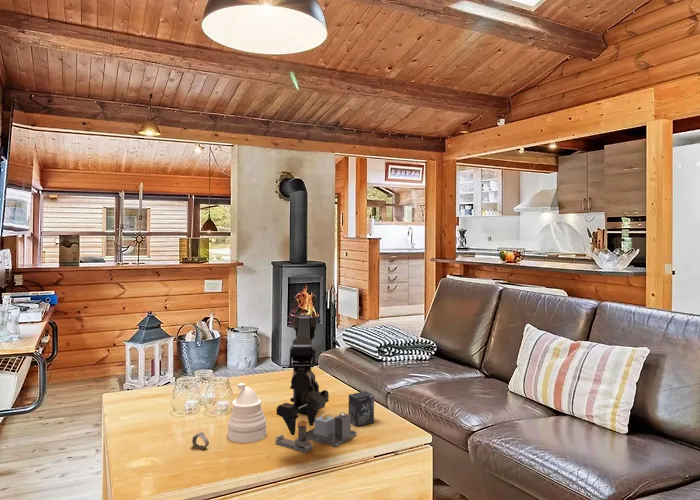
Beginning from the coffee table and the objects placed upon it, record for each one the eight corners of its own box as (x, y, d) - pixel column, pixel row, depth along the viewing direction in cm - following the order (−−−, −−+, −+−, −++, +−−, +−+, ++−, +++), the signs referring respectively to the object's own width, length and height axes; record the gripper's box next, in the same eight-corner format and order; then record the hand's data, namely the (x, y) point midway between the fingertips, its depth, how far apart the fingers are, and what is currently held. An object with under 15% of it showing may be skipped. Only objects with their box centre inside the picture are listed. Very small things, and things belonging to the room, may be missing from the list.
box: (356, 427, 184) (356, 398, 184) (348, 422, 189) (348, 394, 188) (374, 423, 188) (374, 394, 188) (365, 418, 193) (365, 390, 193)
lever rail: (275, 443, 169) (275, 437, 169) (281, 440, 172) (281, 434, 172) (306, 453, 162) (306, 446, 162) (312, 449, 164) (312, 443, 164)
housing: (314, 432, 176) (314, 414, 176) (323, 427, 180) (323, 410, 180) (326, 435, 173) (326, 417, 173) (334, 430, 177) (334, 413, 177)
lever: (294, 444, 165) (294, 422, 164) (300, 441, 167) (300, 419, 167) (304, 447, 162) (304, 425, 162) (310, 444, 165) (310, 422, 165)
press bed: (302, 437, 174) (302, 411, 174) (323, 426, 184) (323, 401, 184) (336, 447, 167) (336, 419, 166) (356, 435, 177) (356, 409, 176)
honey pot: (233, 445, 168) (233, 391, 167) (223, 432, 179) (223, 381, 179) (271, 438, 174) (271, 385, 173) (259, 426, 185) (259, 376, 184)
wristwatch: (197, 444, 169) (197, 429, 169) (211, 448, 166) (211, 432, 166) (189, 448, 166) (189, 432, 166) (203, 452, 163) (202, 436, 163)
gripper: (303, 394, 152) (303, 446, 153) (339, 379, 168) (339, 426, 168) (275, 387, 158) (275, 437, 159) (312, 374, 174) (312, 419, 174)
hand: (302, 430), depth 165 cm, fingers open, 9 cm apart
